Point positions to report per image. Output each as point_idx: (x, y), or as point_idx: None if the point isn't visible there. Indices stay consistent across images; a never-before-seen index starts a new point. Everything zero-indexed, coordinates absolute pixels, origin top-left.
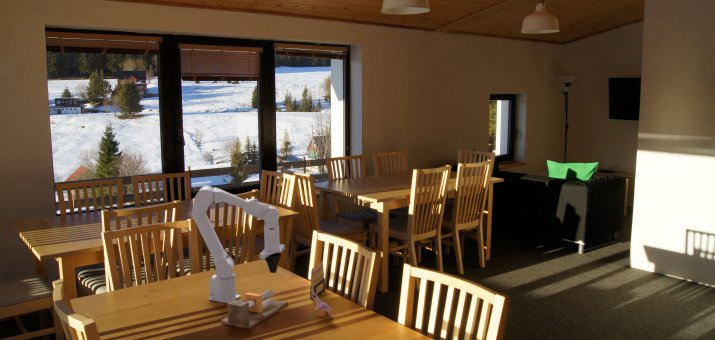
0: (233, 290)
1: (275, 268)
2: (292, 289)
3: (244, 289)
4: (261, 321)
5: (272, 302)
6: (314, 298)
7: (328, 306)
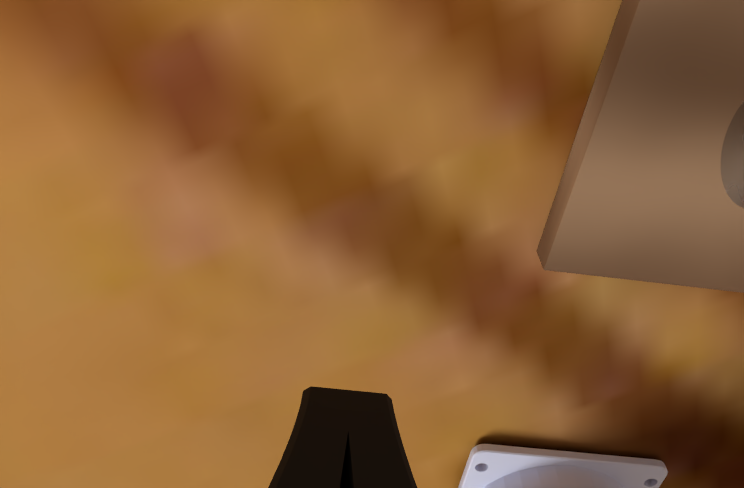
0: None
1: (383, 477)
2: (19, 28)
3: None
4: None
5: (724, 53)
6: None
7: None
